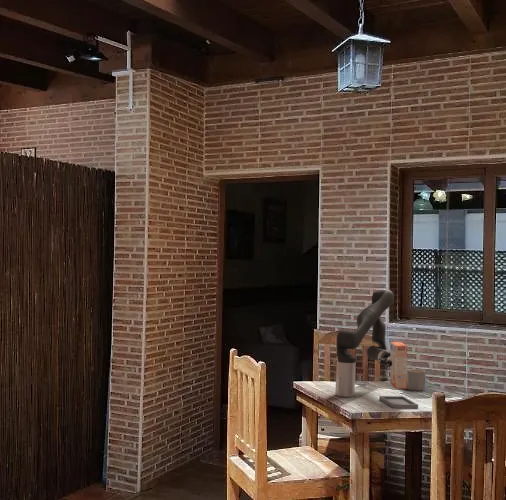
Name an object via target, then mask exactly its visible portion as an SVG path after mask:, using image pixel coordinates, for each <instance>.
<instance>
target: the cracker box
mask: <svg viewBox="0 0 506 500" xmlns="http://www.w3.org/2000/svg"><path fill="white" fill-rule="evenodd" d="M389 348H390V361H392V366H390V367H389V369H390V371H389V374H390V375H389V379H390V380H389V383H390V384H391V386H392V387H394V389H397V390H398V389H399V390H400V389H402V390H403V389H404V390H406V389H407V370H408V368H407V367H408V346H407V345H406V344H405V343H403V342H401V341H390V347H389Z"/></svg>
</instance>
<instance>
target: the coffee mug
mask: <svg viewBox="0 0 506 500" xmlns="http://www.w3.org/2000/svg"><path fill="white" fill-rule="evenodd" d="M426 374H427V373H426V370H424V369H415V368H413V369H411V368H409V369H408V368H407V388H406V389H407V390H410V391H425V390H426ZM424 389H425V390H424Z"/></svg>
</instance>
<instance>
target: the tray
mask: <svg viewBox="0 0 506 500" xmlns="http://www.w3.org/2000/svg"><path fill="white" fill-rule="evenodd" d="M379 401H381V402H382V403H383V404H385V405H387V406H388V407H390V408H391V409H419V404H418V403H416V402H414V401H412V400H411V399H410V398H407V397H406V396H403V395H398V396H397V395H380V396H379Z"/></svg>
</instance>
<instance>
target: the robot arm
mask: <svg viewBox="0 0 506 500" xmlns="http://www.w3.org/2000/svg"><path fill="white" fill-rule="evenodd" d="M394 300H395V295H394V293H393V291H391V290H390V289H382V290H377V291H373V293H372V295H371V304H370V305H368V306H366V307H364V309H362V310H361V312H360V313H359V314H358V315H357V316H356V326H357V328H355V330H353V331H352V330H345V329H344V330H340V331H338V332H337V335H336V357H337V364H336V365H337V367H336V369H337V371H336V376H335V395H336V396H338V397H344V398H345V397H346V398H350V397H355V395H356V393H355V387H356V364H357V363H356V359H357V358H356V356H355V355H353V354H352V353H350V352H349V351H348V350H356V349H357V348H359V345H360V344H361V342H362V341H363V339H364V337H365V336H366V334H367V333H368V332H369V331H370V329H371V328H372V332H371V341H372V342H373V343H375V344H377V345H378V346H377V345H370V346H369V347H368V348H367V350H366V355H367V357H368V358H369V359H371V360H374V361H377V362H378V364H380V365H383V366H385V367H388V368H390V366H392V361H390V351H389V350H387V345H386V339H385V338H386V325H385V322H384V321H383V318H382V315H383V313H385V311H387V309H389V307H391V306H392V305H393V304H394Z"/></svg>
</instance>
